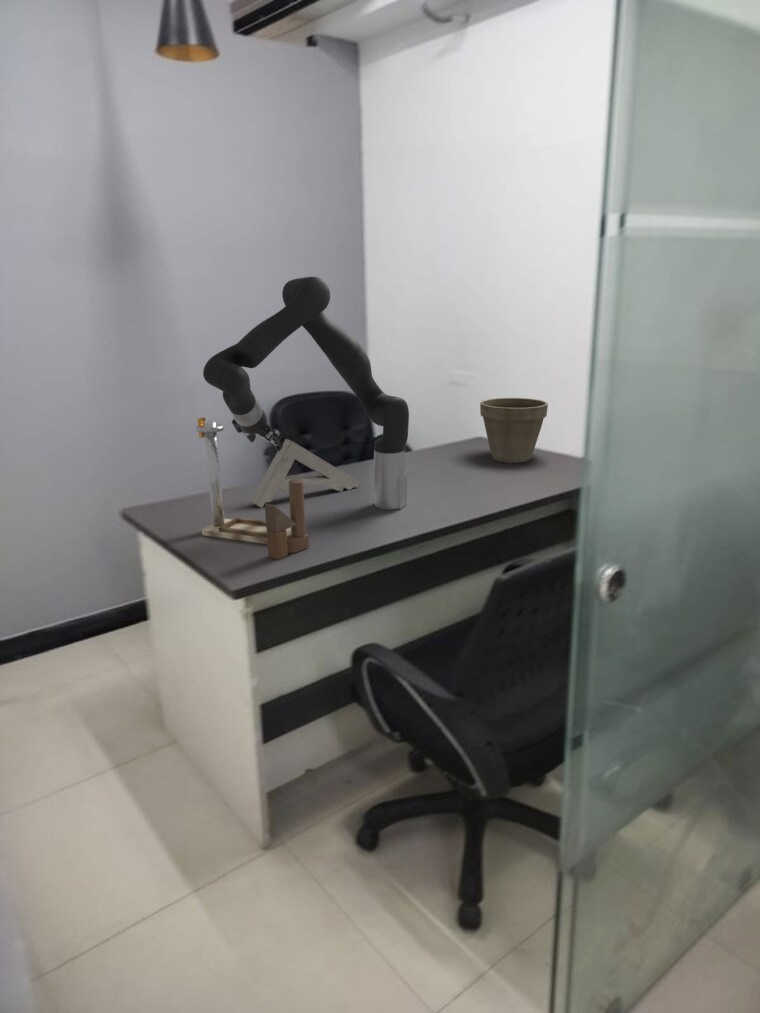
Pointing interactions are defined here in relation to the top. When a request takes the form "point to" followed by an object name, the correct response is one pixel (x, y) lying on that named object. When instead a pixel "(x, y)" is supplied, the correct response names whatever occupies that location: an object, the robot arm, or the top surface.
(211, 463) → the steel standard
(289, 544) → the wooden block
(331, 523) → the top surface
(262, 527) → the seat board
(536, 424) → the plant pot
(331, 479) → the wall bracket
